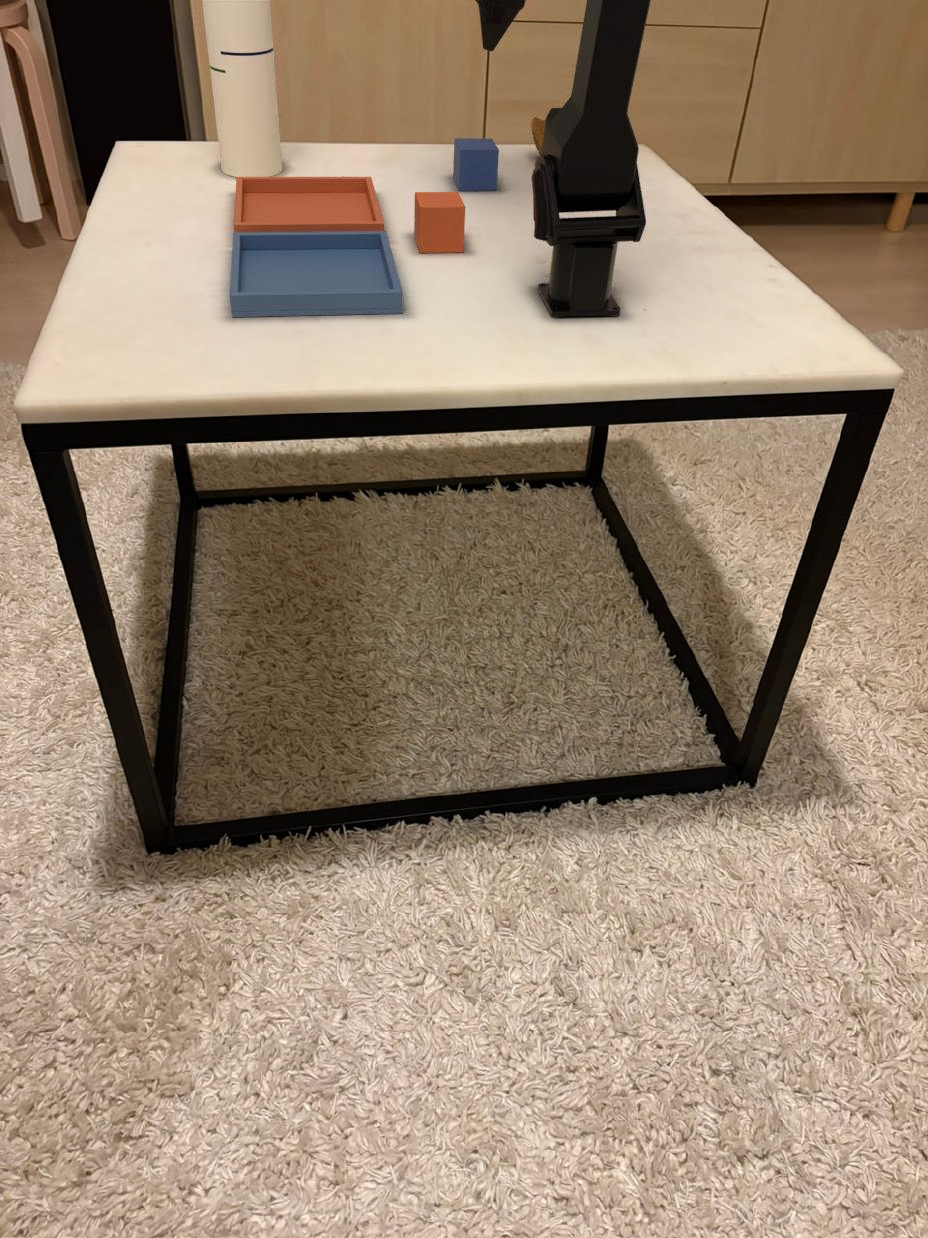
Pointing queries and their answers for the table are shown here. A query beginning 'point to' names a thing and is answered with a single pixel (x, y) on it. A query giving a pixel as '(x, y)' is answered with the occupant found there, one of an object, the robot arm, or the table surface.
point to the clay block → (439, 222)
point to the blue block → (475, 164)
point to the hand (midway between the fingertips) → (496, 23)
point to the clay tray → (306, 204)
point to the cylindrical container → (244, 86)
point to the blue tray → (313, 274)
